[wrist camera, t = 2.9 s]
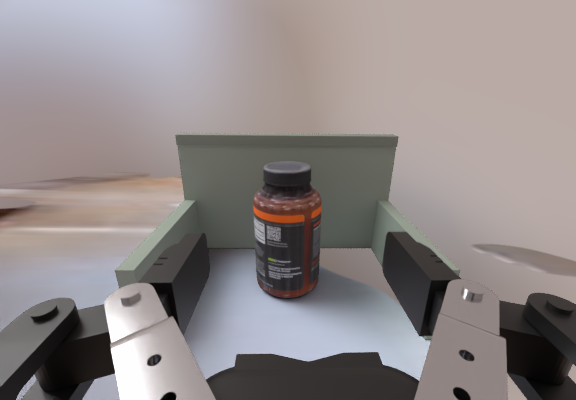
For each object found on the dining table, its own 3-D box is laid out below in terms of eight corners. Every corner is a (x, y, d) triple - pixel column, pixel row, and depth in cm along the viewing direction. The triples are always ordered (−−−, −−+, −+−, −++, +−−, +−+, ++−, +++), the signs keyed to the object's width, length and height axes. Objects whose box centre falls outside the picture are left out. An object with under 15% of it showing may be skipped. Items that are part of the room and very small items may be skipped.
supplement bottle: (310, 260, 29) (315, 157, 25) (325, 298, 24) (334, 173, 20) (255, 265, 28) (251, 158, 25) (257, 304, 23) (252, 176, 19)
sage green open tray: (441, 339, 20) (488, 164, 15) (132, 341, 19) (87, 162, 15) (377, 242, 33) (392, 134, 29) (194, 242, 33) (181, 133, 28)
